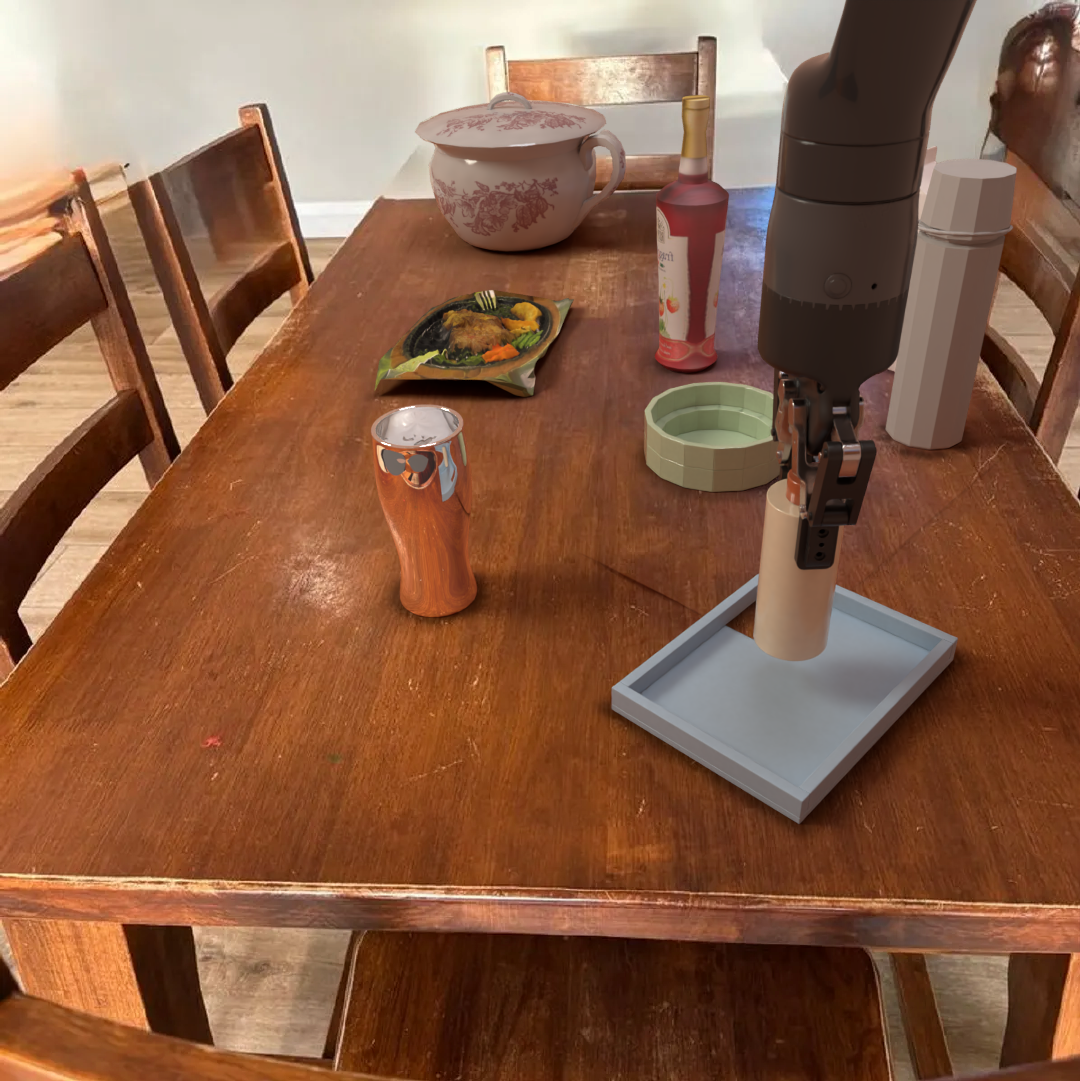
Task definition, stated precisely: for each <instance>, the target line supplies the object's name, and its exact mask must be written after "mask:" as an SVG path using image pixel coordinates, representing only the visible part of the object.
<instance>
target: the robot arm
mask: <svg viewBox="0 0 1080 1081" xmlns="http://www.w3.org/2000/svg"><path fill="white" fill-rule="evenodd" d="M977 1H978V0H845V2H844V6H843V9H842V13H841V16H840V19H839V23H838V26H837V30H836V32H835V36H834V39H833V42H832V45H831V48H830V50H829V52H825V53H820V54H818V55H815V56H812V57H809V58H808V59H806V60H805V61H803V62H801V63H799V65H798V66H796V68H795V69H794V70H793V71H792V73H791V74H790V76H789V79H788V81H787V84H786V88H785V91H784V96H783V101H782V109H781V119H780V132H779V134H780V135H779V144H778V155H777V165H776V166H777V167H776V178H775V182H776V183H775V187H774V194H773V198H772V204H771V208H770V212H769V217H768V223H767V227H766V228H767V229H766V237H765V248H764V258H763V271H762V282H761V293H760V294H761V295H760V307H759V318H758V332H757V346H756V347H757V351H758V354H759V355H760V357H761V359H762V360H763V361H764V362H765V363H766V364H767V365H769V367H771V368H773V391H772V392H773V393H772V394H773V420H772V429H771V436H772V437H773V441H774V442H778V441H779V443H778V448H777V451H776V458H777V460H778V463H779V464H784V465H783V466H780V473H779V476H778V481H780V480H783V479H787V474H788V472H789V471H790V470H791V469H792V472H793V474H794V475H795V476H796V477H798V478H799V479H800V505H799V522H798V530H797V539H796V547H795V555H794V559H795V562H796V564H797V567H798V568H799V569H801V570H815V569H828V568H830V567H831V566H832V565H833V564H834V559H835V552H836V545H837V538H838V531H839V526H845V527H846V526H856V525H857V523H858V520H859V516H860V513H861V509H862V506H863V502H864V499H865V495H866V492H867V489H868V485H869V481H870V478H871V475H872V471H873V467H874V464H875V462H876V456H877V454H878V453H877V451H878V450H877V446H876V443H875V441H874V440H873V439H860V429H861V428H862V427H863V426H864V423H865V399H864V396H863V395H861V391H860V387H861V385H863V384H864V383H865V382H866V381H868V380H869V379H871V378H873V377H874V376H876V375H880V374H882V373H884V372H885V371H887V370H888V368H889V367H890V366H891V365H892V364H893V363H894V362H895V360H896V358H897V356H898V352H899V346H900V340H901V334H902V328H903V322H904V316H905V310H906V304H907V298H908V292H909V286H910V280H911V274H912V268H913V262H914V256H915V250H916V244H917V236H918V210H919V195H920V186H921V182H922V176H923V169H924V163H925V157H926V151H927V149H928V146H929V144H928V143H929V138H930V134H931V132H930V131H931V124H932V115H933V108H934V104H935V101H936V97H937V95H938V93H939V91H940V88H941V86H942V83H943V81H944V80H945V77H946V75H947V73H948V71H949V68H950V66H951V65H952V62H953V59H954V58H955V56H956V53H957V51H958V48H959V45H960V43H961V40H962V38H963V35H964V32H965V31H966V28H967V25H968V23H969V21H970V19H971V15H972V13H973V11H974V9H975V6H976V5H977V4H976V3H977ZM814 482H815V483H814ZM813 485H814V487H813Z"/></svg>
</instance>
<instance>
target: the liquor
mask: <svg viewBox="0 0 1080 1081" xmlns="http://www.w3.org/2000/svg"><path fill="white" fill-rule="evenodd" d="M710 109H711V96H709V95H704V94H693V95H692V94H691V95H686V96H682V98H681V122H682V128H683V135H682V144H681V149H680V158H679V159H680V160H679V167H678V174H677V175H678V176H677V177H678V178H677V179H676V180H673V181H671V182H669V183H667V184H666V185H664V186H663V187H662V188H661V189H660V190H658V192H657V193H656V194H655V203H656V207H655V208H656V249H657V250H656V251H657V252H656V253H657V272H658V273H657V274H658V275H657V276H658V319H659V320H658V325H659V326H658V329H659V330H658V332H659V333H658V339H659V341H658V344H659V347H658V348H657V350H656V352H655V353H654V359H655V360H656V361H657V363H658V364H660V365H661V366H662V367H663V368H665V369H666V370H669V371H671V372H675V373H686V374H687V373H689V374H690V373H697V372H701V371H704V370H706V369H707V368H709V367H710V366H711V365H712V364H715V363H716V361H717V360H718V353H717V351H716V350H715V339H716V338H715V337H716V324H717V314H718V304H719V303H718V302H719V295H720V294H719V292H720V282H721V281H720V280H721V274H722V267H723V258H724V249H725V241H726V230H727V219H728V209H729V201H730V193H729V192H728V190H726V189H725V188H724V187H723V186H722V185H721V184H720V183H719V182H716V181H714V180H711V179H709V168H708V167H709V164H708V144H707V142H708V141H707V129H708V125H709V120H710Z"/></svg>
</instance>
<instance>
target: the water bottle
mask: <svg viewBox="0 0 1080 1081" xmlns="http://www.w3.org/2000/svg"><path fill="white" fill-rule="evenodd" d="M1017 169H1018V168H1017V167H1016V166H1014V165H1013V164H1010V163H1007V162H1003V161H999V160H993V159H986V158H985V159H984V158H957V159H956V158H955V159H946V160H943V161H940V162H937V163H936V165H935V167H934V169H933V173H932V177H931V181H930V184H929V188H928V192H927V196H926V200H925V203H924V207H923V211H922V215H921V219H919V220H918V230H920V231H919V233H918V236H917V244H916V250H915V256H914V262H913V268H912V274H911V280H910V286H909V292H908V298H907V304H906V310H905V316H904V322H903V328H902V334H901V340H900V346H899V352H898V357H897V363H896V369H895V372H894V376H893V381H892V388H891V394H890V399H889V406H888V412H887V418H886V423H885V432H886V433H887V434H888V435H889V436H890V437H891V438H892V440H893V441H895V442H897V443H900V444H902V445H904V446H906V447H909V448H913V449H919V450H920V449H921V450H926V451H932V450H944V449H949V448H952V447H953V446H956V445H957V444H959V443H961V442H962V441H963V437H964V431H965V427H966V422H967V417H968V413H969V408H970V403H971V400H972V394H973V390H974V385H975V381H976V377H977V372H978V367H979V361H980V357H981V352H982V347H983V343H984V338H985V333H986V329H987V324H988V319H989V314H990V311H991V305H992V300H993V296H994V291H995V286H996V281H997V276H998V273H999V269H1000V264H1001V258H1002V254H1003V249H1004V245H1005V241H1006V235H1008V233H1010V232H1011V231H1012V230H1013V229H1014V226H1013V225H1012V224H1011V221H1012V213H1013V205H1014V196H1015V190H1016V189H1015V188H1016V187H1015V186H1016V179H1017V172H1018V170H1017Z"/></svg>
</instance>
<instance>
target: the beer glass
mask: <svg viewBox="0 0 1080 1081" xmlns="http://www.w3.org/2000/svg"><path fill="white" fill-rule="evenodd" d="M370 434H371V441H372V442H371V443H372V444H371V445H372V459H373V460H372V461H373V469H374V470H373V472H374V480H375V485H376V491H377V496H378V500H379V503H380V507H381V509H382V513H383V516H384V519H385V521H386V524H387V527H388V530H389V532H390V535H391V537H392V540H393V543H394V546H395V548H396V552H397V554H398V560H399V565H400V579H399V580H400V581H399V600H400V602H401V605H402V606H403V607H404V609H406V610H407V611H408V612H410V613H412V614H413V615H416V616H420V617H425V618H443V617H447V616H451V615H455V614H457V613H459V612H462V611H463V610H465V609H466V608H467V607H469V606H470V605H471V604H472V603H473V602H474V601H475V598H476V596H477V593H478V586H477V581H476V578H475V575H474V572H473V569H472V566H471V562H470V557H469V533H470V525H471V514H472V504H473V503H472V502H473V478H472V476H473V475H472V466H471V459H470V452H469V447H468V441H467V436H466V432H465V424H464V419H463V416H462V415H461V414H460V413H459V412H458V411H456V410H454V409H453V408H450V407H447V406H443V405H437V404H412V405H407V406H402V407H398V408H395V409H392V410H389V411H388V412H386V413H384V414H382V415H380V416H379V417H378V418H377V419H376V420H375V421H374V422H373V423H372V425H371V427H370Z"/></svg>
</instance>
